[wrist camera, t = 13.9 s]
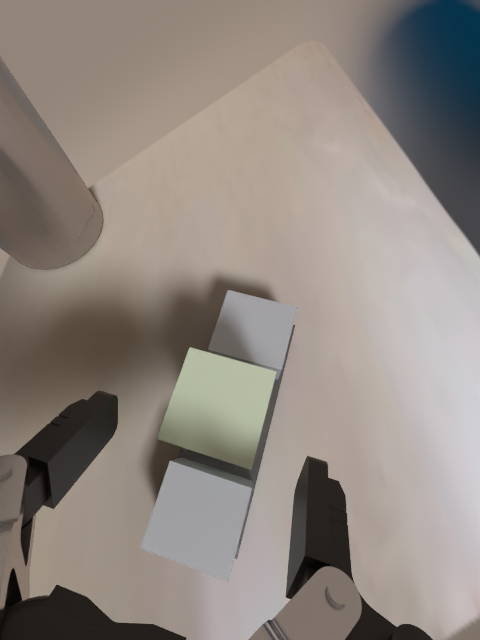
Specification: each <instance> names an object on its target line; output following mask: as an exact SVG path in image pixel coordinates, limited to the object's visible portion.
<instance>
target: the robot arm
mask: <svg viewBox="0 0 480 640" xmlns="http://www.w3.org/2000/svg"><path fill="white" fill-rule="evenodd" d="M102 224H103V217H102V211H101V209H100V206H99V205H98V203H97V202H96V200H95V199H94V197H93V196H92V194H91V193H90V191H89V190H88V188H87V186H86V185H85V183H84V182H83V181H82V179H81V177H80V176H79V174H78V173H77V171H76V170H75V168H74V167H73V165H72V164H71V162H70V160H69V159H68V157H67V156H66V155H65V153H64V151H63V150H62V148H61V147H60V146H59V144H58V142H57V141H56V139H55V138H54V136H53V135H52V133H51V132H50V130H49V129H48V127H47V126H46V124H45V123H44V121H43V120H42V118H41V117H40V115H39V114H38V112H37V111H36V109H35V107H34V106H33V104H32V103H31V101H30V100H29V98H28V97H27V95H26V94H25V92H24V91H23V89H22V88H21V86H20V85H19V83H18V82H17V80H16V79H15V77H14V76H13V74H12V73H11V71H10V70H9V68H8V67H7V65H6V64H5V62H4V61H3V59H2V58H1V56H0V248H1V249H2V250H4V251H5V252H7V253H8V254H9V255H10V256H12V257H13V258H14V259H16V260H17V261H18V262H20V263H22V264H24V265H25V266H28V267H31V268H35V269H52V268H58V267H61V266H64V265H67V264H69V263H71V262H73V261H75V260H77V259H78V258H80V257H81V256H83V255H84V254H85V253H86V252H87V251H88V250H89V249H90V248H91V247H92V246H93V245H94V243H95V242H96V240H97V239H98V237H99V235H100V232H101V230H102ZM117 424H118V398H117V396H116V395H112V394H109V393H106V392H103V391H97V392H96V393H95V394H94V395H92V396H91V397H90V398H89V399H88V400H84V399H81V400H79V401H77V402H75V403H73V404H71V405H69V406H68V407H67V408H66V409H65V410H63V411H62V412H61V413H60V414H59V416H58V417H56V418H54V419H53V420H52V421H51V422H50V424H48V425H47V426H45V427H44V428H43V429H42V430H41V431H40V432H39V433H38V434H37V435H35V436H34V437H33V438H32V439H31V440H30V441H29V442H28V443H26V444H25V445H24V446H23V447H22V448H21V449H20V450H19V451H17V452H16V453H15V454H13V455H4V456H0V640H186V638H185V637H183V636H181V635H178V634H176V633H173V632H171V631H168V630H166V629H164V628H161V627H159V626H156V625H154V624H135V623H116V622H113V621H112V620H111V619H110V618H109V617H108V616H107V615H105V614H104V613H103V612H102V611H101V610H100V609H99V608H98V607H97V606H96V605H95V604H94V603H93V602H92V601H91V600H90V599H89V598H88V597H86V596H83V595H81V594H78V593H76V592H73V591H71V590H69V589H66V588H64V587H61V586H59V585H56V587H55V588H54V590H53V591H52V593H51V594H50V596H38V597H33V598H29V595H30V584H29V573H30V563H31V554H32V546H33V537H34V529H35V520H36V513H37V511H38V510H39V509H40V508H41V507H42V506H43V505H45V506H47V507H50V508H53V509H54V508H55V507H56V505H57V504H58V503H59V502H60V501H61V499H62V498H63V497H64V496H65V494H66V493H67V492H68V491H69V490H70V488H71V487H72V486H73V485H74V483H75V482H76V481H77V480H78V479H79V477H80V476H81V475H82V474H83V472H84V471H85V470H86V469H87V467H88V466H89V465H90V464H91V463H92V461H93V460H94V459H95V458H96V456H97V455H98V454H99V453H100V452H101V450H102V449H103V448H104V447H105V445H106V444H107V443H108V442H109V440H110V439H111V438H112V437H113V435H114V433H115V431H116V428H117ZM286 598H289V599H291V600H290V601H289V602H288V603H287V604H286V606H285V607H284V608H283V609H282V610H281V611H280V612H279V613H278V614H277V615H276V616H275V617H274V618H273V619H272V620H268V621H267V622H265V623H264V624H263V625H262V626H261V627H260V628H259V629H258V630H257V631H256V632H255V633H254V634H253V635H252V636H251V637H250V639H249V640H432V638H431V637H430V636H429V635H428V634H426V633H425V632H424V631H423V630H421V629H420V628H418V627H416V626H414V625H411V624H402V625H400V626H398V627H396V626H395V625H393V624H392V623H391V622H389V621H388V620H387V619H385V618H384V617H383V616H381V615H380V614H379V613H377V612H376V611H375V610H374V609H372V608H371V607H370V606H369V605H368V604H367V603H366V602H365V600H364V599H363V598H362V596H361V595H360V593H359V592H358V590H357V588H356V586H355V583H354V581H353V577H352V572H351V561H350V549H349V536H348V525H347V513H346V499H345V494H344V492H343V490H342V487H341V485H340V483H339V481H337V480H333V479H330V478H328V464H327V462H325V461H322V460H319V459H316V458H313V457H309V456H307V458H306V460H305V463H304V465H303V468H302V471H301V473H300V476H299V479H298V482H297V485H296V489H295V494H294V503H293V515H292V527H291V539H290V551H289V564H288V576H287V588H286Z"/></svg>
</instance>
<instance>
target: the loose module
mask: <svg viewBox="0 0 480 640" xmlns="http://www.w3.org/2000/svg"><path fill="white" fill-rule="evenodd" d="M276 373H277V372H276V371H273V370H269V369H266V368H262V367H259V366H255V365H251V364H248V363H244V362H241V361H237V360H234V359H230V358H226V357H223V356H219V355H216V354H212V353H209V352H205V351H202V350H198V349H194V348H191V347H189V350H188V353H187V356H186V358H185V361H184V364H183V367H182V369H181V372H180V375H179V378H178V381H177V383H176V386H175V389H174V392H173V394H172V397H171V400H170V403H169V405H168V408H167V411H166V414H165V417H164V419H163V422H162V425H161V428H160V430H159V433H158V436H157V439H158V440H161V441H165V442H168V443H171V444H174V445H177V446H180V447H183V448H186V449H189V450H192V451H195V452H198V453H201V454H204V455H207V456H210V457H213V458H216V459H219V460H222V461H225V462H229V463H232V464H235V465H238V466H241V467H244V468H247V469H250V470H252V466H253V462H254V458H255V454H256V451H257V447H258V443H259V439H260V435H261V431H262V427H263V423H264V419H265V415H266V412H267V408H268V404H269V400H270V396H271V392H272V388H273V384H274V380H275V376H276Z"/></svg>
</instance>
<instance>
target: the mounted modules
mask: <svg viewBox="0 0 480 640" xmlns="http://www.w3.org/2000/svg"><path fill="white" fill-rule="evenodd" d="M296 311H297V307H295V306H291V305H287V304H283V303H279V302H275V301H271V300H267V299H263V298H259V297H255V296H251V295H247V294H243V293H239V292H235V291H231V290H228V291H227V294H226V297H225V300H224V303H223V305H222V308H221V311H220V314H219V317H218V320H217V323H216V326H215V329H214V332H213V335H212V338H211V341H210V344H209V347H208V351H209V353H212V354H216V355H219V356H223V357H226V358H230V359H234V360H237V361H241V362H244V363H248V364H251V365H255V366H259V367H262V368H266V369H269V370H273V371H276V372H277V373H276V376H275V379H277V380H278V378H279V376H280V373H281V371H282V367H283V363H284V359H285V355H286V351H287V347H288V343H289V339H290V335H291V331H292V327H293V323H294V319H295V315H296ZM251 491H252V480H249V479H246V478H243V477H240V476H237V475H234V474H231V473H228V472H225V471H222V470H219V469H216V468H213V467H210V466H207V465H204V464H201V463H198V462H195V461H192V460H189V459H186V458H183V457H182V458H178V459H174V460H170V462H169V465H168V468H167V471H166V473H165V476H164V479H163V482H162V485H161V488H160V491H159V494H158V497H157V500H156V503H155V506H154V509H153V512H152V515H151V518H150V521H149V524H148V527H147V529H146V532H145V535H144V538H143V541H142V544H141V547H140V548H141V549H144V550H147V551H149V552H152V553H154V554H157V555H160V556H162V557H165V558H168V559H170V560H173V561H175V562H178V563H181V564H183V565H186V566H188V567H191V568H194V569H196V570H199V571H202V572H204V573H207V574H209V575H212V576H215V577H217V578H220V579H223V580H225V581H228V582H229V579H230V575H231V571H232V567H233V563H234V559H235V555H236V551H237V547H238V543H239V539H240V535H241V531H242V527H243V523H244V519H245V515H246V511H247V507H248V503H249V499H250V495H251Z"/></svg>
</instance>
